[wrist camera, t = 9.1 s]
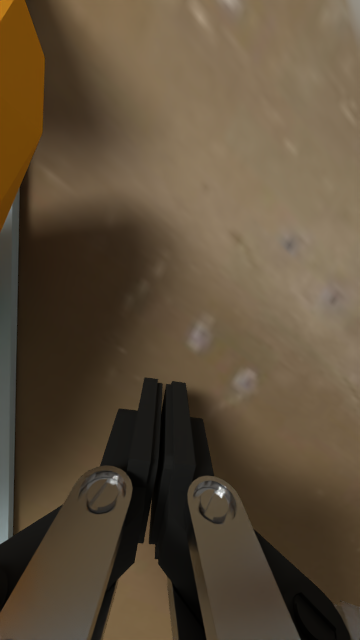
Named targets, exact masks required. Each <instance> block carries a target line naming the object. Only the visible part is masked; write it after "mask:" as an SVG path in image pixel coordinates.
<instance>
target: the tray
mask: <svg viewBox="0 0 360 640" xmlns="http://www.w3.org/2000/svg"><path fill="white" fill-rule="evenodd" d="M19 197H20V187H19V190H18V192H17V194H16V197H15V199H14V201H13V204H12V206H11V209H10V211H9V213H8V216H7V218H6V220H5V223H4V225H3V228H2V230H1V232H0V544H1V543H3V542H5V541H6V540H8V539H9V538H11V537H12V536H13V503H14V452H15V401H16V350H17V299H18V248H19Z"/></svg>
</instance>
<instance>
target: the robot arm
mask: <svg viewBox="0 0 360 640" xmlns="http://www.w3.org/2000/svg"><path fill="white" fill-rule="evenodd" d="M161 404H162V383H158V379H153V378H144V383H143V388H142V393H141V398H140V403H139V408H138V411H136V410H127V409H118V412H117V415H116V418H115V421H114V424H113V428H112V431H111V434H110V437H109V440H108V443H107V446H106V449H105V452H104V456H103V459H102V462H101V465H100V466H99V467H95V468H93V469H91V470H88V471H87V472H86V473H84V474H83V475H82V476H81V477H80V478H79V479H78V481H77V482H76V483H75V485H74V486H73V488H72V490H71V492H70V493H69V495H68V497H67V498H66V500H65V502H64V504H63V505H61V506H60V507H58V508H57V509H55V510H54V511H52V512H50V513H49V514H47V515H46V516H44V517H43V518H41V519H39V520H38V521H36V522H35V523H33V524H31V525H30V526H28V527H27V528H25V529H24V530H22V531H20V532H19V533H17V534H16V535H14V536H12V537H11V538H9V539H8V540H6V541H5V542H3V543H1V544H0V640H103V637H104V633H105V629H106V626H107V622H108V618H109V615H110V611H111V607H112V603H113V600H114V596H115V592H116V589H117V585H118V579H119V577H120V576H121V575H122V574H123V573H124V572H125V571H126V570H127V569H128V568H129V567H130V566H131V565H132V564H133V563H134V562H135V556H136V551H137V545H138V543H143V542H144V537H145V532H146V526H147V521H148V516H149V510H150V505H151V519H150V533H149V544H155V559H158V564H159V565H160V567H161V568H162V570H163V571H164V572H165V574H166V575H167V576H168V586H167V588H168V598H169V607H170V617H171V626H172V636H173V640H360V607H357V606H354V605H351V604H348V603H346V602H343V601H340V602H339V603H338V605H335V604H333V603H332V602H331V601H330V600H329V599H328V598H327V596H326V595H325V594H324V593H323V592H322V591H321V590H320V589H319V588H318V587H317V586H316V585H315V584H313V583H312V582H311V581H310V580H309V579H308V578H307V577H306V576H305V575H304V574H302V573H301V572H300V571H299V570H298V569H297V568H296V567H295V566H294V565H293V564H291V563H290V562H289V561H288V560H287V559H286V558H285V557H284V556H283V555H282V554H281V553H279V552H278V551H277V550H276V549H275V548H274V547H273V546H272V545H271V544H270V543H268V542H267V541H266V540H265V539H264V538H263V537H262V536H261V535H260V534H259V533H258V532H256V531H255V530H254V529H253V527H252V525H251V523H250V520H249V518H248V516H247V513H246V511H245V509H244V506H243V504H242V502H241V499H240V497H239V496H238V494H237V492H236V491H235V490H234V489H233V488H232V486H231V485H230V484H228V483H227V482H225V481H224V480H222V479H220V478H217V477H215V476H214V473H213V468H212V463H211V458H210V453H209V448H208V443H207V438H206V433H205V428H204V423H203V420H202V419H201V418H193V417H190V414H189V406H188V398H187V390H186V383H182V382H175V381H172V383H171V385H170V384H166V389H165V395H164V400H163V406H162V411H161ZM151 500H152V504H151Z"/></svg>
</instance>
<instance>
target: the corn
mask: <svg viewBox="0 0 360 640" xmlns="http://www.w3.org/2000/svg"><path fill="white" fill-rule="evenodd" d="M44 71H45V57H44V54H43V51H42V48H41V45H40V42H39V39H38V37H37V34H36V31H35V28H34V25H33V22H32V19H31V16H30V13H29V11H28V8H27V5H26V2H25V0H0V232H1V230H2V228H3V225H4V223H5V220H6V218H7V216H8V213H9V211H10V209H11V206H12V204H13V201H14V199H15V197H16V194H17V192H18V190H19V187H20V185H21V182H22V180H23V178H24V175H25V173H26V171H27V168H28V166H29V164H30V161H31V159H32V156H33V154H34V152H35V149H36V147H37V145H38V142H39V140H40V137H41V135H42V132H43V102H44Z"/></svg>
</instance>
